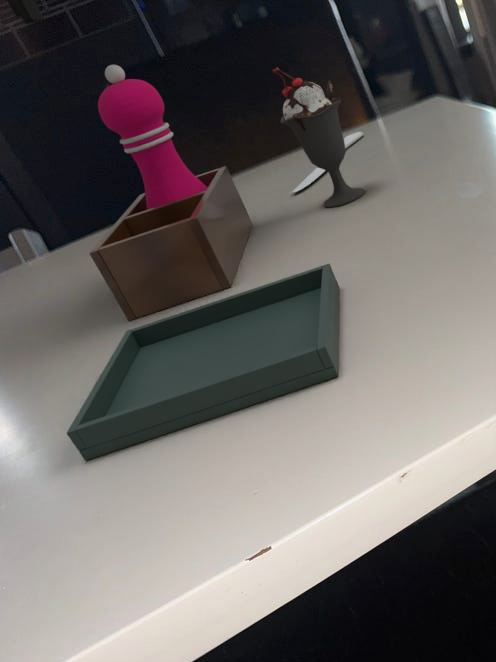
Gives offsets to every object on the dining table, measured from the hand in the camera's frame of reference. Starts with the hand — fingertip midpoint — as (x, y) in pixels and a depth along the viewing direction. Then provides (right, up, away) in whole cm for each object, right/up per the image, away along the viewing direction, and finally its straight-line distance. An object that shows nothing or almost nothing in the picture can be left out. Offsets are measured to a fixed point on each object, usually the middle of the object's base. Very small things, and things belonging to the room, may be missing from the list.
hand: (84, 5), depth 71 cm
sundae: (+22, -15, +15) cm, 30 cm away
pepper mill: (+7, -21, +12) cm, 26 cm away
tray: (+18, -33, -15) cm, 41 cm away
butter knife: (+17, -6, +32) cm, 37 cm away
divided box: (+8, -23, +8) cm, 26 cm away
